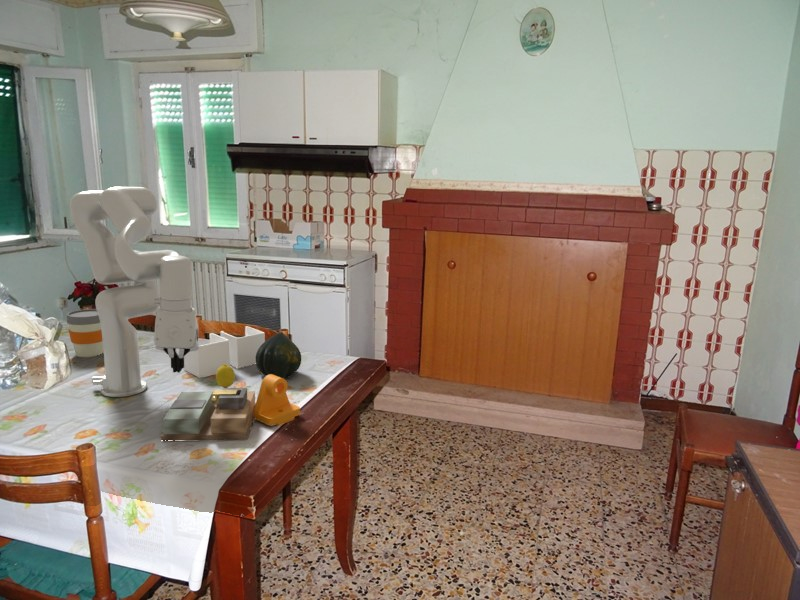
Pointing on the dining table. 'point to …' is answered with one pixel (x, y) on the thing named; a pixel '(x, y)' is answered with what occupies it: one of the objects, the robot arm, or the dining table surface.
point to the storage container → (224, 352)
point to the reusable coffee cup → (85, 332)
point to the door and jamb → (210, 416)
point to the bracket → (274, 402)
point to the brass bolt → (222, 393)
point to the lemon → (225, 376)
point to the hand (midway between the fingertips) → (177, 370)
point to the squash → (278, 356)
